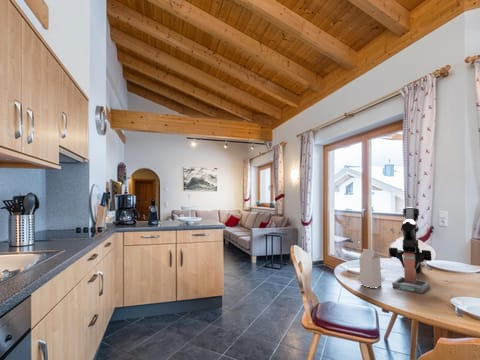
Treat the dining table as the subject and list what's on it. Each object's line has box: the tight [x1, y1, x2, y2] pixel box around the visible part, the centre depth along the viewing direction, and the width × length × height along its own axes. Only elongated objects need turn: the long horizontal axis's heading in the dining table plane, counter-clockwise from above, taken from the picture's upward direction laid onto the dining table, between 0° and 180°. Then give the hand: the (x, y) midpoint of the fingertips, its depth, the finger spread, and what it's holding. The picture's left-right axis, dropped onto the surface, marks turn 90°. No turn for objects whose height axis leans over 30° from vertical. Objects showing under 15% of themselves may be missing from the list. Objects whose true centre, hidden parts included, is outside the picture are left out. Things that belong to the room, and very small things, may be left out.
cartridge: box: [402, 253, 417, 283], centre depth 136 cm, size 5×5×14 cm
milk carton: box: [358, 248, 383, 288], centre depth 139 cm, size 7×7×19 cm
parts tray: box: [391, 276, 430, 295], centre depth 135 cm, size 13×13×2 cm
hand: (409, 268), depth 135 cm, fingers closed on cartridge, 5 cm apart
